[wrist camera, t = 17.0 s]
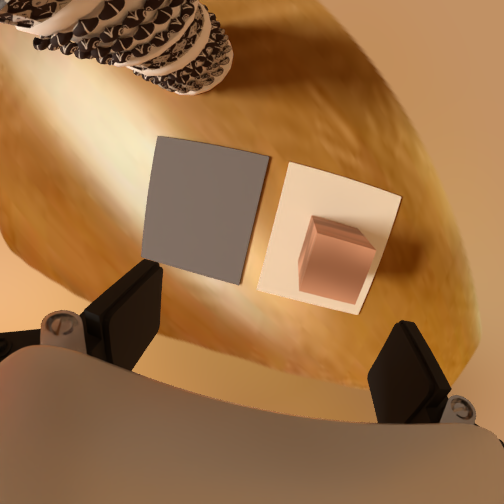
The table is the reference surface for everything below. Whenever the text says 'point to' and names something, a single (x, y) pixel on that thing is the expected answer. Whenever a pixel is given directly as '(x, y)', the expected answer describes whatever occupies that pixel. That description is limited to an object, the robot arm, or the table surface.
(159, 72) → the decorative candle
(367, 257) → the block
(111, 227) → the table surface
